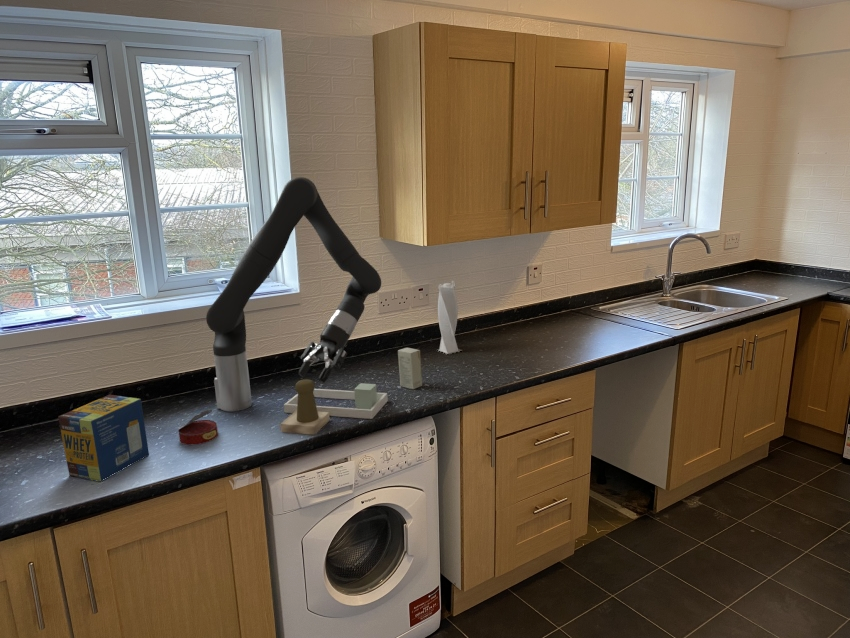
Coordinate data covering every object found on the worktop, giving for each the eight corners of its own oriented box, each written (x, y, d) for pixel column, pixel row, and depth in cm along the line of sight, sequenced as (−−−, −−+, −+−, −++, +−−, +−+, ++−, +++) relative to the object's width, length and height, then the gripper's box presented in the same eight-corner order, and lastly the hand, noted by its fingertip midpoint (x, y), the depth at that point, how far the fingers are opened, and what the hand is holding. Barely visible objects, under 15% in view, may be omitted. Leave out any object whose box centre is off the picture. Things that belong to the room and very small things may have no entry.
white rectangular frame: (284, 412, 184) (283, 404, 183) (305, 395, 197) (304, 388, 196) (372, 418, 177) (371, 410, 176) (387, 401, 190) (387, 393, 189)
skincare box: (422, 386, 201) (421, 350, 198) (413, 390, 198) (411, 353, 195) (408, 382, 206) (406, 346, 203) (399, 385, 203) (397, 349, 200)
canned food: (191, 461, 165) (168, 436, 160) (188, 443, 174) (166, 418, 169) (228, 436, 167) (207, 410, 162) (223, 419, 176) (203, 394, 171)
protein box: (68, 476, 149) (56, 416, 145) (119, 449, 163) (110, 393, 159) (100, 483, 145) (89, 421, 142) (150, 454, 159) (141, 397, 156)
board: (281, 431, 170) (280, 423, 169) (297, 417, 179) (296, 409, 179) (314, 434, 167) (314, 426, 167) (329, 420, 177) (329, 412, 176)
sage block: (355, 411, 183) (354, 389, 181) (361, 405, 187) (360, 383, 186) (371, 412, 181) (370, 390, 180) (377, 406, 186) (376, 384, 184)
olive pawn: (312, 412, 177) (309, 375, 174) (322, 418, 172) (319, 381, 169) (293, 417, 173) (289, 380, 171) (302, 424, 168) (298, 386, 166)
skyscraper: (464, 352, 236) (463, 279, 229) (447, 356, 232) (445, 282, 225) (451, 347, 243) (449, 276, 236) (434, 351, 239) (432, 279, 232)
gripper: (314, 319, 180) (286, 367, 174) (348, 326, 171) (319, 377, 165) (330, 333, 185) (302, 380, 180) (363, 340, 176) (335, 390, 171)
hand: (310, 378), depth 172 cm, fingers open, 8 cm apart
